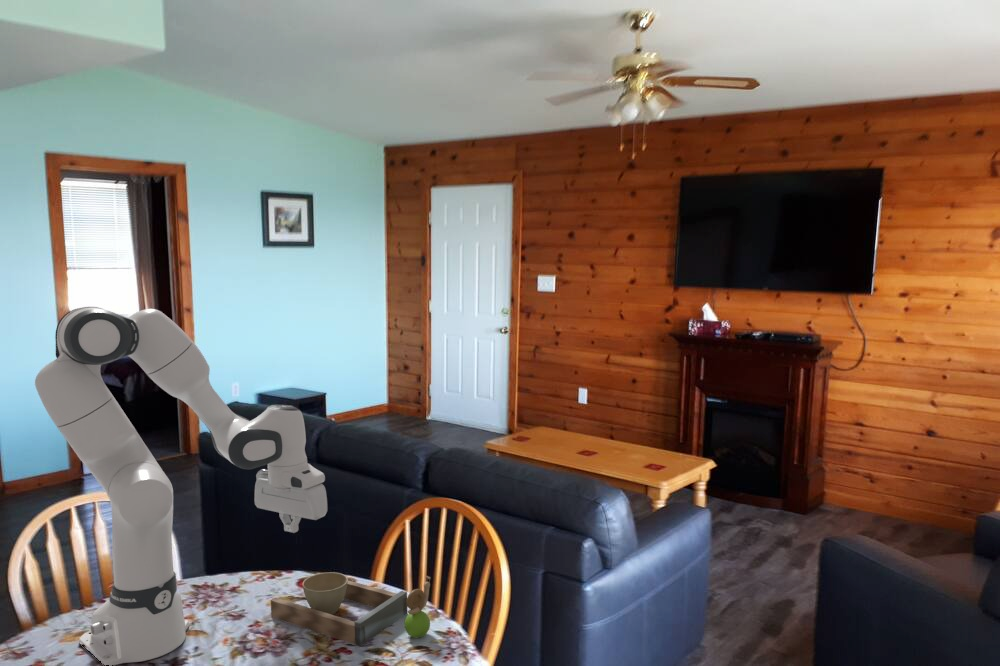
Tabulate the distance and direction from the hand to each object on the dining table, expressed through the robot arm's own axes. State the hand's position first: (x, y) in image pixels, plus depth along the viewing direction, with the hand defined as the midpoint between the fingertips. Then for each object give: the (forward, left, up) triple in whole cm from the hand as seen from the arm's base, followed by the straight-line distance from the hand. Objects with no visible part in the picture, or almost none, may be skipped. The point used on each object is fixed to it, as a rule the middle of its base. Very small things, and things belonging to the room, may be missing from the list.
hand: (291, 531), depth 165 cm
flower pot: (+10, 0, -17) cm, 20 cm away
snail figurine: (+35, +1, -17) cm, 39 cm away
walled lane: (+14, 0, -17) cm, 22 cm away
